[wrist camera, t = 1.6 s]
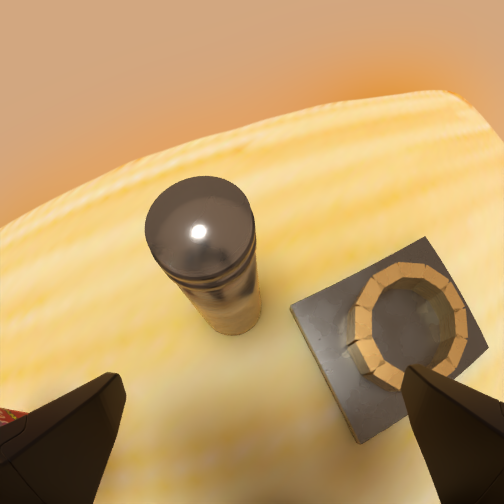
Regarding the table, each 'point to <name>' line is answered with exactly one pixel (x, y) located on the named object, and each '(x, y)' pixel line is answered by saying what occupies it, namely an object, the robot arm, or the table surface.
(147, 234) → the piston
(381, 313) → the ring collar
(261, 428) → the table surface
